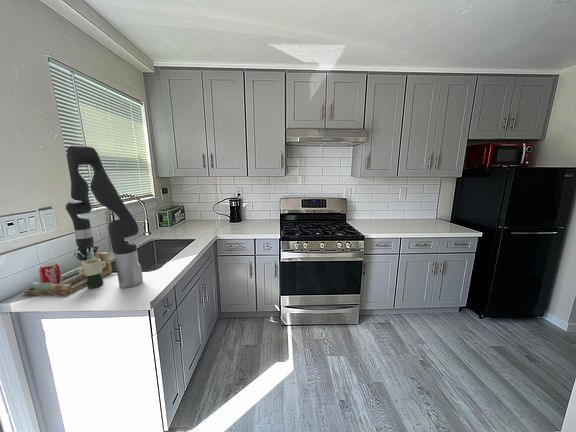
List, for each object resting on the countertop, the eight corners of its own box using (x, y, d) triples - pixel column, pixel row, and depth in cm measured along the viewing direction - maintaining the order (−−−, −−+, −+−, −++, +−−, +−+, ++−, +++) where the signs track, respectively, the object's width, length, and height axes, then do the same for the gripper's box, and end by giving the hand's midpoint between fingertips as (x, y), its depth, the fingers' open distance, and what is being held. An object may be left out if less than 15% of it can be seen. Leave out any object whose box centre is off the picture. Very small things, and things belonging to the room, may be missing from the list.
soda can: (66, 283, 119) (62, 261, 117) (53, 290, 113) (48, 267, 110) (52, 284, 119) (47, 261, 117) (38, 291, 112) (33, 267, 110)
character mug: (104, 280, 123) (100, 256, 121) (111, 282, 120) (108, 258, 118) (78, 289, 114) (74, 263, 112) (86, 292, 111) (81, 266, 108)
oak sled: (114, 271, 134) (111, 252, 132) (69, 293, 109) (65, 271, 107) (98, 270, 135) (95, 252, 133) (51, 293, 110) (46, 270, 108)
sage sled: (98, 269, 136) (95, 251, 134) (52, 291, 111) (47, 269, 109) (83, 269, 137) (80, 251, 135) (33, 291, 112) (28, 269, 110)
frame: (108, 274, 130) (107, 271, 129) (67, 296, 107) (66, 292, 107) (72, 273, 131) (71, 270, 131) (24, 294, 109) (23, 290, 109)
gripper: (78, 240, 125) (84, 270, 128) (100, 233, 138) (105, 261, 142) (65, 239, 126) (71, 270, 129) (89, 233, 139) (93, 261, 142)
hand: (89, 265), depth 135 cm, fingers closed
